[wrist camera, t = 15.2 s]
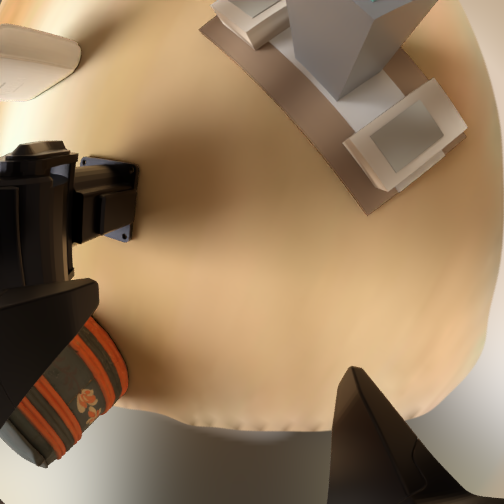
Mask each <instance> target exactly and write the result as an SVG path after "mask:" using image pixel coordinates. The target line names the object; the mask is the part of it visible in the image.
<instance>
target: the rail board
mask: <svg viewBox="0 0 504 504" xmlns="http://www.w3.org/2000/svg"><path fill="white" fill-rule="evenodd" d="M210 6H211V8H212V9H213V10H214V12H215V13H216V14H217V16H215V17H214V18H213V19H211V20H210V21H209V22H207V23H206V24H205V25H204V26H202V27H201V28H200V29H199V31H200V32H201V33H202V34H203V35H205V36H206V37H207V38H208V39H209V40H210V41H212V42H213V43H214V44H215V45H216V46H217V47H219V48H220V49H221V50H222V51H223V52H224V53H225V54H226V55H228V56H229V57H230V58H231V59H232V60H233V61H234V62H235V63H236V64H237V65H238V66H240V67H241V68H242V69H243V70H244V71H245V72H246V73H247V74H248V75H249V76H250V77H251V78H252V79H253V80H254V81H255V82H256V83H257V84H258V85H259V86H260V87H261V88H262V89H263V90H264V91H265V92H266V93H267V94H268V95H269V96H270V97H271V98H272V99H273V100H274V101H275V102H276V103H277V105H278V106H279V107H280V108H281V109H282V110H283V111H284V112H285V113H286V114H287V115H288V117H289V118H290V119H291V120H292V121H293V122H294V123H295V124H296V125H297V127H298V128H299V129H300V130H301V131H302V132H303V134H304V135H305V136H306V137H307V138H308V139H309V141H310V142H311V143H312V144H313V145H314V147H315V148H316V149H317V150H318V151H319V153H320V154H321V155H322V156H323V158H324V159H325V160H326V161H327V163H328V164H329V165H330V166H331V168H332V169H333V170H334V172H335V173H336V174H337V176H338V177H339V178H340V179H341V181H342V182H343V183H344V185H345V186H346V187H347V189H348V190H349V192H350V193H351V194H352V196H353V197H354V198H355V200H356V201H357V203H358V204H359V206H360V207H361V208H362V210H363V211H364V213H365V214H366V215H367V216H368V215H369V214H371V213H372V212H373V211H375V210H376V209H377V208H379V207H380V206H381V205H383V204H384V203H385V202H386V201H388V200H389V199H390V198H392V197H393V196H394V195H396V194H397V193H398V192H401V191H402V190H403V189H405V188H406V187H407V186H408V185H410V184H411V183H412V182H413V181H415V180H416V179H417V178H418V177H420V176H421V175H422V174H423V173H425V172H426V171H427V170H428V169H430V168H431V167H432V166H433V165H435V164H436V163H437V162H438V161H440V160H441V159H442V158H443V157H444V156H445V155H446V154H447V153H448V152H449V151H450V150H452V149H453V148H454V147H455V146H456V145H458V144H459V143H460V142H461V141H462V140H463V139H465V138H466V135H465V134H464V132H463V131H465V130H466V129H467V128H468V127H467V125H466V124H465V122H464V120H463V119H462V117H461V116H460V114H459V112H458V111H457V109H456V108H455V106H454V105H453V103H452V102H451V100H450V99H449V97H448V96H447V94H446V93H445V92H444V90H443V89H442V87H441V86H440V85H439V83H438V82H437V81H436V79H435V78H432V79H431V80H428V79H427V78H426V76H425V75H424V74H423V73H422V71H421V70H420V69H419V68H418V66H417V65H416V64H415V63H414V62H413V61H412V59H411V58H410V57H409V56H408V55H407V54H406V53H405V51H404V50H403V49H402V48H401V47H400V48H399V49H398V50H397V52H396V53H395V54H394V55H393V57H392V58H391V59H390V60H389V62H388V63H387V64H386V65H385V67H384V68H383V69H382V70H381V72H379V73H378V74H376V75H375V76H373V77H372V78H370V79H369V80H367V81H366V82H364V83H363V84H361V85H360V86H358V87H357V88H355V89H354V90H353V91H351V92H350V93H348V94H347V95H345V96H344V97H343V98H341V99H340V100H338V101H336V100H335V99H334V98H333V97H332V96H331V95H330V94H329V93H328V91H327V90H326V89H325V88H324V87H323V86H322V85H321V84H320V83H319V82H318V81H317V80H316V79H315V78H314V76H313V75H312V74H311V73H310V72H309V71H308V70H307V69H306V68H305V67H304V66H303V65H302V64H301V63H300V62H298V61H297V60H296V59H295V54H294V47H293V40H292V34H291V28H290V22H289V16H288V10H287V5H286V0H217V1H215V2H214V3H213V4H211V5H210Z"/></svg>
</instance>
